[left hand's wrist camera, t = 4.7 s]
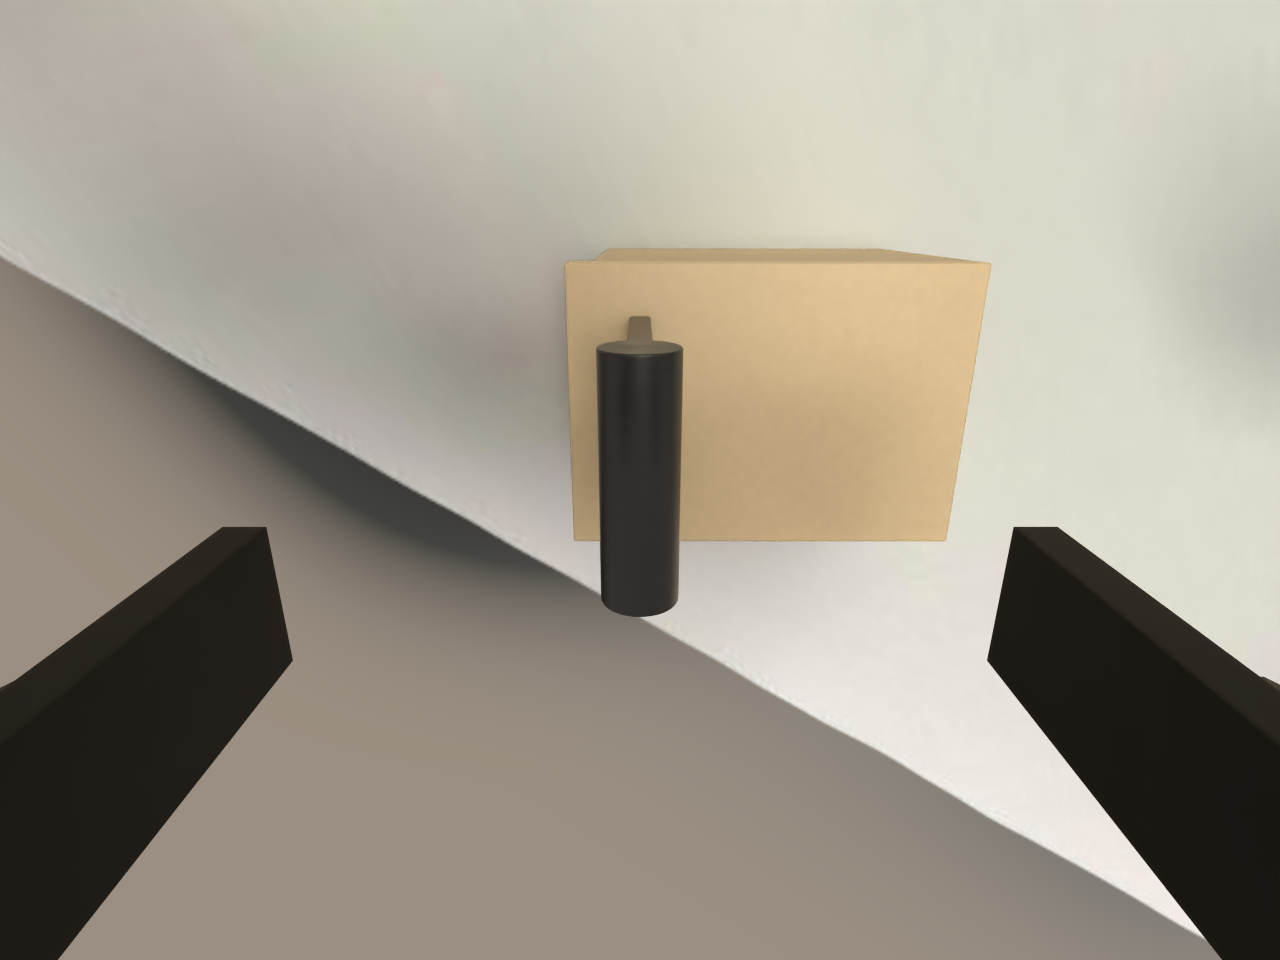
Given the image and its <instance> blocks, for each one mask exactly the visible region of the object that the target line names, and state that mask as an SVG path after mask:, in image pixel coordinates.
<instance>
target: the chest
mask: <svg viewBox="0 0 1280 960" xmlns="http://www.w3.org/2000/svg"><path fill="white" fill-rule="evenodd" d="M595 261H970V260H962V259H954V258H946V257H938V256H931V255H923V254H915V253H907V252H900V251H892V250H884V249H607V250H606V251H605V252H604V253H602V254H601V255H600V256H599V257H598V258H597V259H596V260H595Z"/></svg>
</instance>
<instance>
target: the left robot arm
mask: <svg viewBox="0 0 1280 960" xmlns="http://www.w3.org/2000/svg"><path fill="white" fill-rule="evenodd" d="M292 661H293V659H292V654H291V649H290V644H289V639H288V634H287V629H286V624H285V619H284V614H283V609H282V604H281V599H280V594H279V589H278V584H277V579H276V574H275V569H274V564H273V559H272V554H271V548H270V544H269V538H268V533H267V528H266V527H222V528H221V529H219V530H218V531H217V532H215V533H214V534H213V535H211V536H210V537H208V538H207V539H206V540H204V541H203V542H202V543H200V544H199V545H198V546H196V547H195V548H194V549H192V550H191V551H189V552H188V553H187V554H185V555H184V556H183V557H181V558H180V559H179V560H177V561H176V562H175V563H173V564H172V565H171V566H169V567H168V568H166V569H165V570H164V571H162V572H161V573H160V574H158V575H157V576H156V577H154V578H153V579H152V580H150V581H149V582H148V583H146V584H145V585H143V586H142V587H141V588H139V589H138V590H137V591H135V592H134V593H133V594H131V595H130V596H129V597H127V598H126V599H125V600H123V601H122V602H121V603H119V604H118V605H116V606H115V607H114V608H112V609H111V610H110V611H108V612H107V613H106V614H104V615H103V616H102V617H100V618H99V619H98V620H96V621H95V622H94V623H92V624H91V625H89V626H88V627H87V628H85V629H84V630H83V631H81V632H80V633H79V634H77V635H76V636H75V637H73V638H72V639H70V640H69V641H68V642H66V643H65V644H64V645H62V646H61V647H60V648H58V649H57V650H56V651H54V652H53V653H52V654H50V655H49V656H47V657H46V658H45V659H43V660H42V661H41V662H39V663H38V664H37V665H35V666H34V667H33V668H31V669H30V670H29V671H27V672H26V673H24V674H23V675H22V676H20V677H19V678H18V679H16V680H15V681H13V682H11V683H9V684H7V685H5V686H3V687H1V688H0V960H58V959H59V958H60V956H61V955H62V954H63V953H64V951H65V950H66V949H67V947H68V946H69V945H70V944H71V942H72V941H73V940H74V938H75V937H76V936H77V935H78V933H79V932H80V931H81V930H82V928H83V927H84V926H85V924H86V923H87V922H88V921H89V919H90V918H91V917H92V916H93V914H94V913H95V912H96V911H97V909H98V908H99V907H100V905H101V904H102V903H103V902H104V900H105V899H106V898H107V896H108V895H109V894H110V893H111V891H112V890H113V889H114V888H115V886H116V885H117V884H118V882H119V881H120V880H121V879H122V877H123V876H124V875H125V873H126V872H127V871H128V870H129V868H130V867H131V866H132V865H133V863H134V862H135V861H136V860H137V858H138V857H139V856H140V854H141V853H142V852H143V851H144V849H145V848H146V847H147V846H148V844H149V843H150V842H151V840H152V839H153V838H154V837H155V835H156V834H157V833H158V832H159V830H160V829H161V828H162V826H163V825H164V824H165V823H166V821H167V820H168V819H169V818H170V816H171V815H172V814H173V812H174V811H175V810H176V809H177V807H178V806H179V805H180V803H181V802H182V801H183V800H184V798H185V797H186V796H187V795H188V793H189V792H190V791H191V789H192V788H193V787H194V786H195V784H196V783H197V782H198V781H199V779H200V778H201V777H202V776H203V774H204V773H205V772H206V770H207V769H208V768H209V767H210V765H211V764H212V763H213V762H214V760H215V759H216V758H217V756H218V755H219V754H220V753H221V751H222V750H223V749H224V747H225V746H226V745H227V744H228V742H229V741H230V740H231V739H232V737H233V736H234V735H235V733H236V732H237V731H238V730H239V728H240V727H241V726H242V725H243V723H244V722H245V721H246V719H247V718H248V717H249V716H250V714H251V713H252V712H253V711H254V709H255V708H256V707H257V705H258V704H259V703H260V702H261V700H262V699H263V698H264V696H265V695H266V694H267V693H268V691H269V690H270V689H271V688H272V686H273V685H274V684H275V683H276V681H277V680H278V679H279V677H280V676H281V675H282V674H283V672H284V671H285V670H286V669H287V667H288V666H289V665H290V663H291V662H292ZM987 661H988V662H989V663H990V665H991V666H992V667H993V669H994V670H995V671H996V672H997V674H998V675H999V676H1000V677H1001V679H1002V680H1003V681H1004V683H1005V684H1006V685H1007V686H1008V688H1009V689H1010V690H1011V691H1012V693H1013V694H1014V695H1015V697H1016V698H1017V699H1018V700H1019V702H1020V703H1021V704H1022V705H1023V707H1024V708H1025V709H1026V711H1027V712H1028V713H1029V714H1030V716H1031V717H1032V718H1033V719H1034V721H1035V722H1036V723H1037V725H1038V726H1039V727H1040V728H1041V730H1042V731H1043V732H1044V733H1045V735H1046V736H1047V737H1048V739H1049V740H1050V741H1051V742H1052V744H1053V745H1054V746H1055V747H1056V749H1057V750H1058V751H1059V753H1060V754H1061V755H1062V756H1063V758H1064V759H1065V760H1066V762H1067V763H1068V764H1069V765H1070V767H1071V768H1072V769H1073V770H1074V772H1075V773H1076V774H1077V776H1078V777H1079V778H1080V779H1081V781H1082V782H1083V783H1084V784H1085V786H1086V787H1087V788H1088V790H1089V791H1090V792H1091V793H1092V795H1093V796H1094V797H1095V798H1096V800H1097V801H1098V802H1099V804H1100V805H1101V806H1102V807H1103V809H1104V810H1105V811H1106V812H1107V814H1108V815H1109V816H1110V818H1111V819H1112V820H1113V821H1114V823H1115V824H1116V825H1117V826H1118V828H1119V829H1120V830H1121V832H1122V833H1123V834H1124V835H1125V837H1126V838H1127V839H1128V840H1129V842H1130V843H1131V844H1132V846H1133V847H1134V848H1135V849H1136V851H1137V852H1138V853H1139V854H1140V856H1141V857H1142V858H1143V860H1144V861H1145V862H1146V863H1147V865H1148V866H1149V867H1150V868H1151V870H1152V871H1153V872H1154V874H1155V875H1156V876H1157V877H1158V879H1159V880H1160V881H1161V883H1162V884H1163V885H1164V886H1165V888H1166V889H1167V890H1168V891H1169V893H1170V894H1171V895H1172V897H1173V898H1174V899H1175V900H1176V902H1177V903H1178V904H1179V905H1180V907H1181V908H1182V909H1183V911H1184V912H1185V913H1186V914H1187V916H1188V917H1189V918H1190V919H1191V921H1192V922H1193V923H1194V925H1195V926H1196V927H1197V928H1198V930H1199V931H1200V932H1201V933H1202V935H1203V936H1204V937H1205V939H1206V940H1207V941H1208V942H1209V944H1210V945H1211V946H1212V947H1213V949H1214V950H1215V951H1216V953H1217V954H1218V955H1219V956H1220V958H1221V959H1222V960H1280V685H1279V684H1277V683H1275V682H1273V681H1271V680H1269V679H1267V678H1265V677H1260V676H1258V675H1257V674H1256V673H1254V672H1253V671H1251V670H1250V669H1249V668H1247V667H1246V666H1245V665H1243V664H1242V663H1241V662H1239V661H1238V660H1237V659H1235V658H1234V657H1233V656H1231V655H1230V654H1228V653H1227V652H1226V651H1224V650H1223V649H1222V648H1220V647H1219V646H1218V645H1216V644H1215V643H1214V642H1212V641H1211V640H1210V639H1208V638H1207V637H1205V636H1204V635H1203V634H1201V633H1200V632H1199V631H1197V630H1196V629H1195V628H1193V627H1192V626H1191V625H1189V624H1188V623H1187V622H1185V621H1184V620H1182V619H1181V618H1180V617H1178V616H1177V615H1176V614H1174V613H1173V612H1172V611H1170V610H1169V609H1168V608H1166V607H1165V606H1164V605H1162V604H1161V603H1160V602H1158V601H1157V600H1155V599H1154V598H1153V597H1151V596H1150V595H1149V594H1147V593H1146V592H1145V591H1143V590H1142V589H1141V588H1139V587H1138V586H1137V585H1135V584H1134V583H1132V582H1131V581H1130V580H1128V579H1127V578H1126V577H1124V576H1123V575H1122V574H1120V573H1119V572H1118V571H1116V570H1115V569H1114V568H1112V567H1111V566H1109V565H1108V564H1107V563H1105V562H1104V561H1103V560H1101V559H1100V558H1099V557H1097V556H1096V555H1095V554H1093V553H1092V552H1091V551H1089V550H1088V549H1086V548H1085V547H1084V546H1082V545H1081V544H1080V543H1078V542H1077V541H1076V540H1074V539H1073V538H1072V537H1070V536H1069V535H1068V534H1066V533H1065V532H1064V531H1062V530H1061V529H1059V528H1058V527H1014V528H1013V533H1012V538H1011V543H1010V548H1009V553H1008V559H1007V564H1006V569H1005V574H1004V579H1003V584H1002V589H1001V594H1000V599H999V604H998V609H997V614H996V619H995V624H994V629H993V634H992V639H991V644H990V649H989V654H988V659H987Z"/></svg>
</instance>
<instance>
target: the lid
mask: <svg viewBox="0 0 1280 960" xmlns="http://www.w3.org/2000/svg"><path fill="white" fill-rule="evenodd" d="M990 269H991V263H986V262H978V261H568V262H567V263H565V265H564V270H565V298H566V326H567V355H568V383H569V411H570V439H571V468H572V496H573V524H574V540H575V541H600V558H601V598H602V601H603V603H604V605H605V606H606V607H607V608H608V609H610V610H612V611H614V612H616V613H619V614H622V615H626V616H633V617H646V616H653V615H658V614H661V613H664V612H666V611H668V610H670V609H671V608H672V607H673V606H674V605H675V604H676V602H677V600H678V582H679V541H946V537H947V531H948V525H949V519H950V513H951V506H952V500H953V494H954V488H955V482H956V476H957V470H958V464H959V458H960V452H961V446H962V439H963V433H964V427H965V421H966V415H967V409H968V403H969V397H970V391H971V385H972V379H973V372H974V366H975V360H976V354H977V348H978V342H979V336H980V330H981V324H982V318H983V312H984V305H985V299H986V293H987V287H988V281H989V275H990Z"/></svg>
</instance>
